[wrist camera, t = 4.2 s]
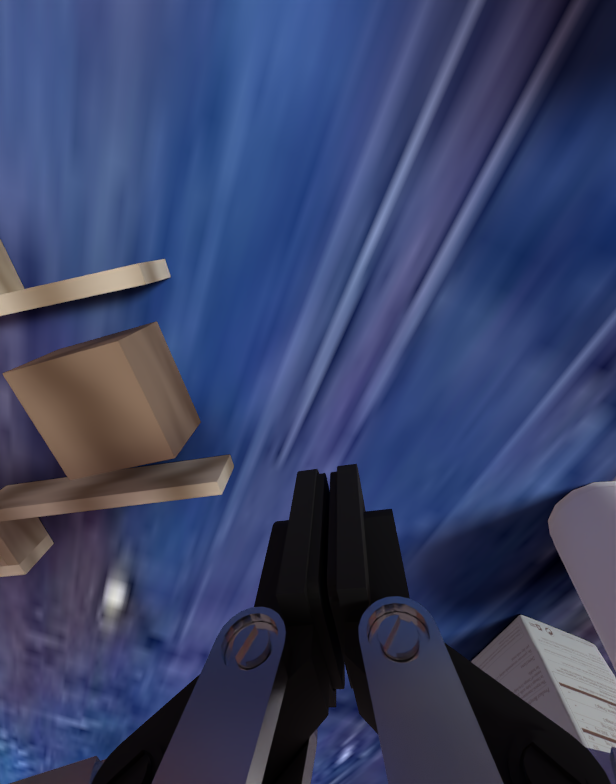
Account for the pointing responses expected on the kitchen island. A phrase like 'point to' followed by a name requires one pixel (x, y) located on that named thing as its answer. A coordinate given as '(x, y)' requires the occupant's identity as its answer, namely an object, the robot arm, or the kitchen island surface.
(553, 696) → the supplement box
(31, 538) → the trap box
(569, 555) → the foam cup
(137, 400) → the walnut block
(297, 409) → the kitchen island surface
